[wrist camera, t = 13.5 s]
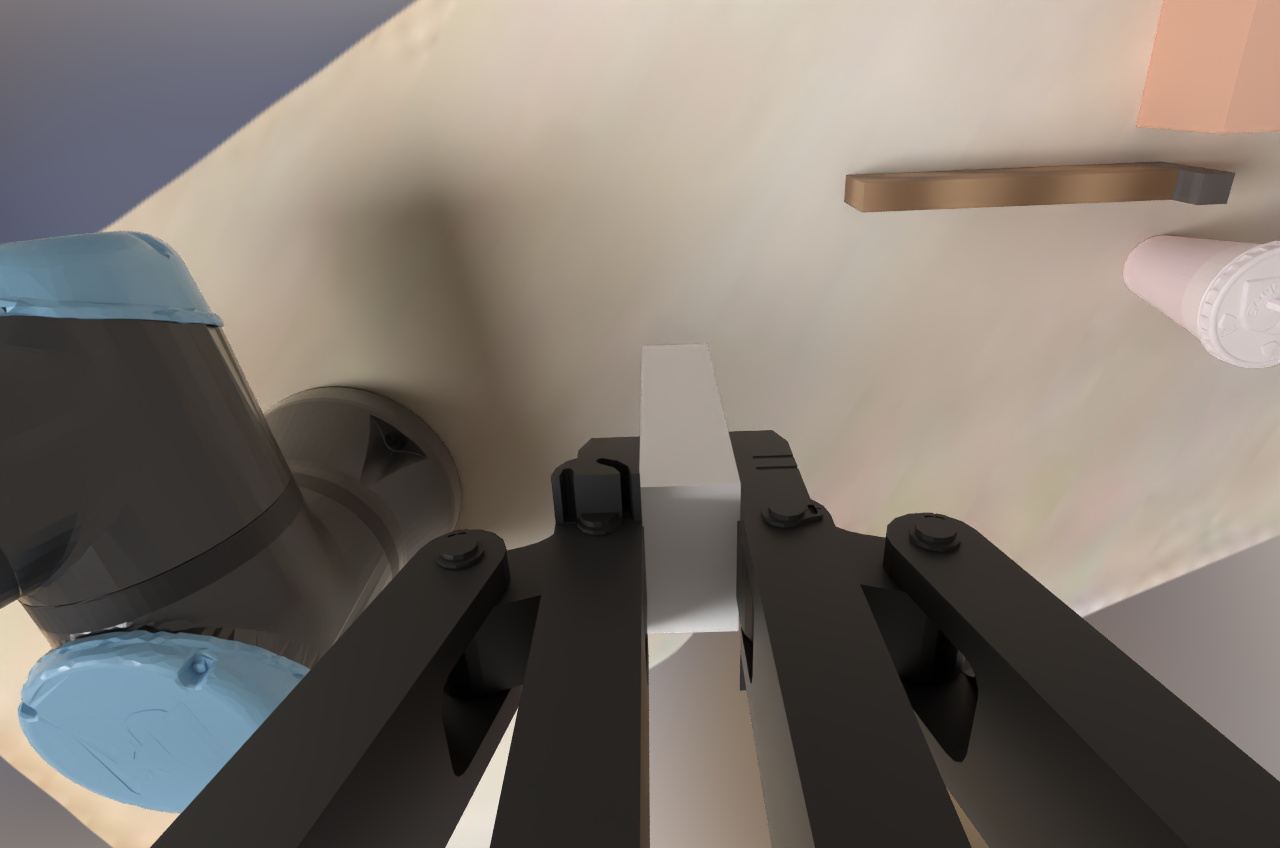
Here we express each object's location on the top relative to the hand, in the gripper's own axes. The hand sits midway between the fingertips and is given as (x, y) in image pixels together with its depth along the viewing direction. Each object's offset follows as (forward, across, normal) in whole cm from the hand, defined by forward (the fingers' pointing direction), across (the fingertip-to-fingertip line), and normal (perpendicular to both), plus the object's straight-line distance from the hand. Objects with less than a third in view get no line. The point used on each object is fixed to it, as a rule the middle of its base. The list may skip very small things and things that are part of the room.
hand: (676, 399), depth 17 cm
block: (+30, +31, +7) cm, 43 cm away
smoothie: (+30, +30, -5) cm, 43 cm away
